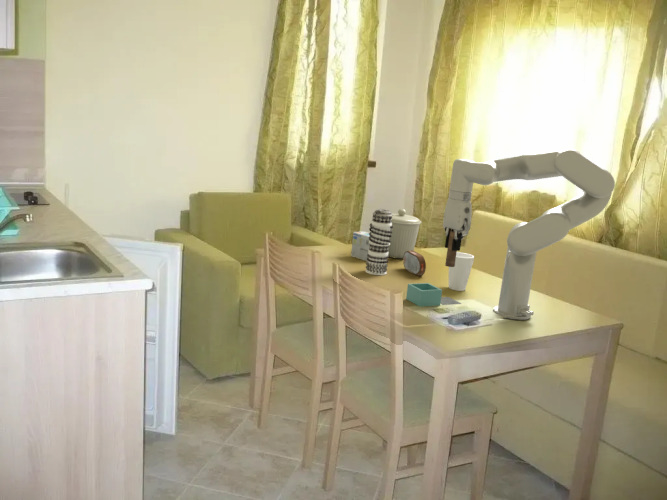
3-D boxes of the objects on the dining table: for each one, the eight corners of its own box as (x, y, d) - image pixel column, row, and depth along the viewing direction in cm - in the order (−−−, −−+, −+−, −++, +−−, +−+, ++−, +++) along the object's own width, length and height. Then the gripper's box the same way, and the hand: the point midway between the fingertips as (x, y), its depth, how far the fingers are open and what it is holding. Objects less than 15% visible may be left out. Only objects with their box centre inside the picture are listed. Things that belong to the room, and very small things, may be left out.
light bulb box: (379, 260, 296) (381, 235, 294) (368, 262, 291) (370, 237, 289) (361, 254, 303) (363, 230, 301) (350, 256, 299) (352, 231, 296)
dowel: (456, 266, 239) (461, 232, 237) (448, 267, 238) (453, 232, 235) (450, 264, 242) (455, 230, 240) (443, 264, 241) (448, 230, 238)
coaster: (461, 305, 241) (461, 303, 241) (442, 306, 238) (442, 304, 237) (448, 298, 248) (448, 296, 248) (429, 299, 244) (429, 297, 244)
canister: (397, 262, 296) (403, 213, 291) (367, 252, 308) (373, 205, 304) (425, 258, 308) (431, 212, 303) (395, 249, 321) (400, 204, 316)
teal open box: (439, 306, 237) (442, 289, 236) (419, 308, 233) (421, 290, 232) (426, 299, 244) (428, 283, 243) (405, 300, 240) (407, 283, 239)
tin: (425, 277, 275) (427, 257, 273) (418, 277, 273) (420, 257, 272) (407, 267, 288) (410, 248, 286) (400, 267, 287) (403, 248, 285)
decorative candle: (375, 268, 282) (381, 207, 276) (392, 274, 275) (399, 211, 270) (359, 270, 275) (366, 208, 270) (377, 276, 269) (384, 212, 263)
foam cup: (469, 293, 258) (474, 259, 255) (444, 289, 259) (448, 255, 257) (469, 287, 267) (474, 254, 264) (445, 283, 268) (449, 250, 266)
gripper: (484, 200, 229) (475, 254, 233) (454, 192, 244) (447, 243, 248) (465, 200, 226) (457, 255, 230) (436, 191, 240) (429, 243, 244)
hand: (452, 248), depth 239 cm, fingers closed on dowel, 3 cm apart
